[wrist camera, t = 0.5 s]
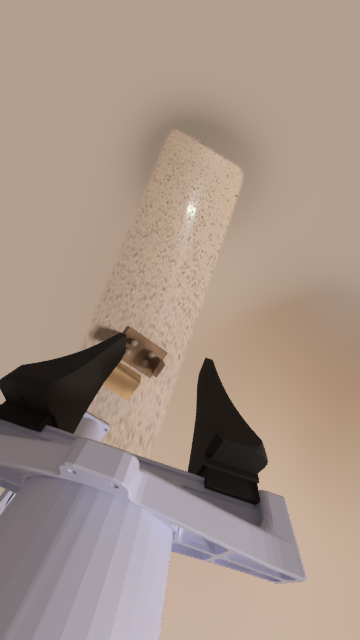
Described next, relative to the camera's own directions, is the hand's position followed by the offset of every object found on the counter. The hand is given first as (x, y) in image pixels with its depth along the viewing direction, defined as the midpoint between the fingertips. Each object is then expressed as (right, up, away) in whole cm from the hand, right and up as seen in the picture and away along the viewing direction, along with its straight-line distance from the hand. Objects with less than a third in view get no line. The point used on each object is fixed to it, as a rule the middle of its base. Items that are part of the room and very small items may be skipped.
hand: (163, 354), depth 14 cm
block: (-12, -10, +23) cm, 28 cm away
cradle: (-8, -5, +24) cm, 26 cm away
